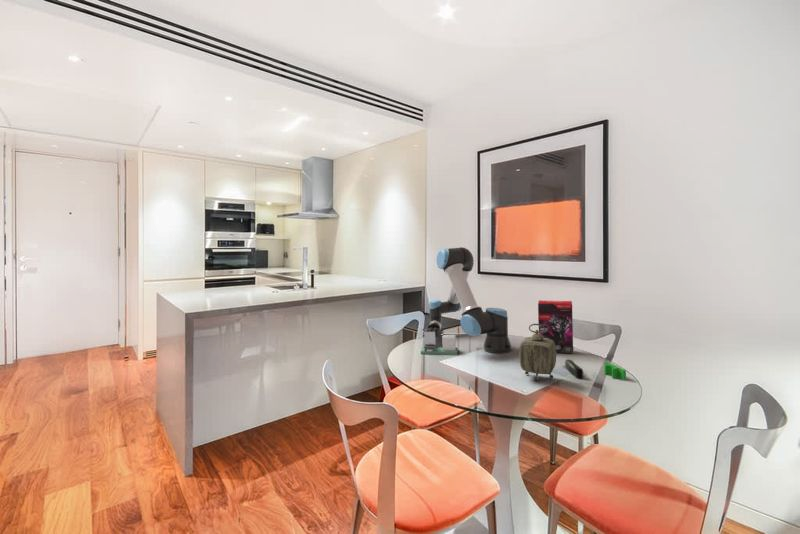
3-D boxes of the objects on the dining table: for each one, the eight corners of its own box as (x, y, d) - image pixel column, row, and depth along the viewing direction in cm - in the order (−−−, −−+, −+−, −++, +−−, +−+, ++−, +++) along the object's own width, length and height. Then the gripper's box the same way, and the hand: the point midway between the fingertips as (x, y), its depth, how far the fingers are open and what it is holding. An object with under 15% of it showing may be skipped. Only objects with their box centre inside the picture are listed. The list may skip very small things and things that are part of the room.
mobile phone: (584, 368, 166) (568, 356, 181) (577, 369, 166) (561, 357, 181) (583, 379, 166) (568, 366, 181) (577, 380, 166) (561, 367, 181)
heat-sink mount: (457, 349, 215) (457, 334, 214) (457, 354, 207) (456, 338, 206) (422, 349, 219) (422, 334, 218) (420, 353, 211) (420, 338, 210)
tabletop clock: (556, 377, 169) (556, 322, 166) (553, 385, 161) (552, 327, 159) (523, 373, 176) (522, 320, 174) (518, 380, 168) (517, 324, 166)
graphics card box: (538, 352, 204) (537, 302, 202) (539, 348, 211) (538, 299, 208) (573, 354, 198) (573, 303, 195) (572, 350, 204) (572, 300, 202)
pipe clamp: (599, 372, 173) (599, 362, 173) (607, 371, 174) (607, 361, 173) (618, 381, 162) (618, 370, 162) (625, 380, 163) (625, 369, 162)
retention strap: (435, 349, 213) (435, 331, 212) (435, 351, 209) (434, 333, 208) (425, 349, 214) (424, 331, 213) (424, 351, 210) (423, 333, 209)
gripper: (445, 333, 235) (441, 345, 212) (424, 333, 238) (418, 345, 215) (444, 322, 235) (441, 332, 212) (423, 322, 237) (418, 332, 214)
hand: (429, 338), depth 213 cm, fingers closed
